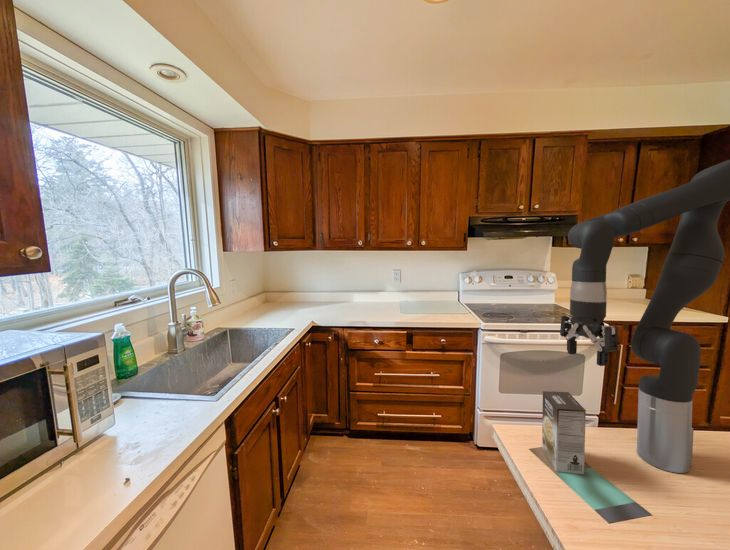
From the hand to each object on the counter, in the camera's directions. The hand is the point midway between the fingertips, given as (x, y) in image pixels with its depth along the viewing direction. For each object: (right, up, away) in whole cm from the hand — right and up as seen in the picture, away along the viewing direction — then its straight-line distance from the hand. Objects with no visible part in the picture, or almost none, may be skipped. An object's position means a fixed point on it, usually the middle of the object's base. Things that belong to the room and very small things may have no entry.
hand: (585, 359), depth 76 cm
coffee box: (-8, -25, -3) cm, 27 cm away
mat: (-8, -25, -9) cm, 28 cm away
